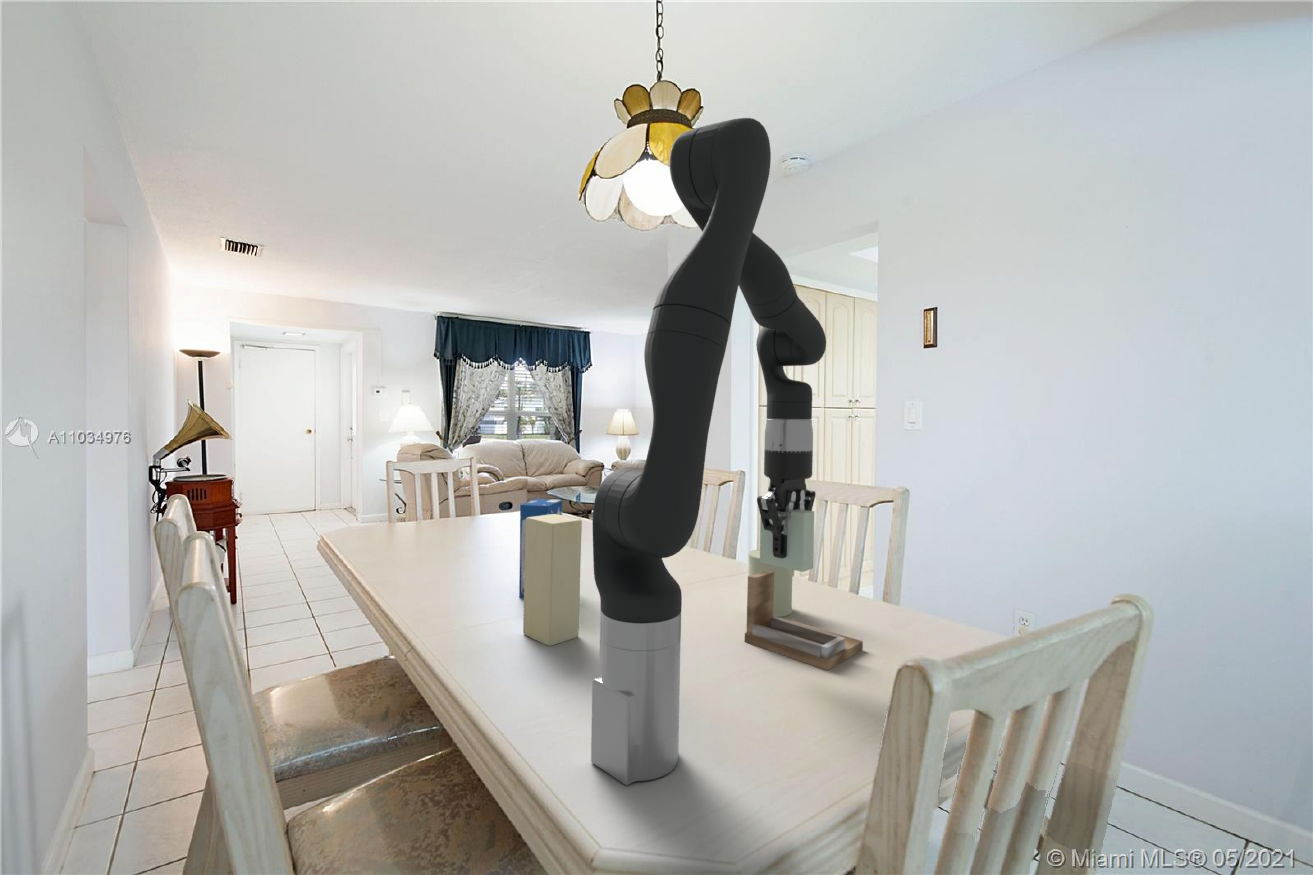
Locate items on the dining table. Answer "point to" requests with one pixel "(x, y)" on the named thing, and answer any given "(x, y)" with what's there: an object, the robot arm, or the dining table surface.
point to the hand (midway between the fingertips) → (786, 554)
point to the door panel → (791, 542)
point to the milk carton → (526, 510)
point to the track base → (791, 630)
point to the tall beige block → (552, 578)
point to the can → (775, 583)
